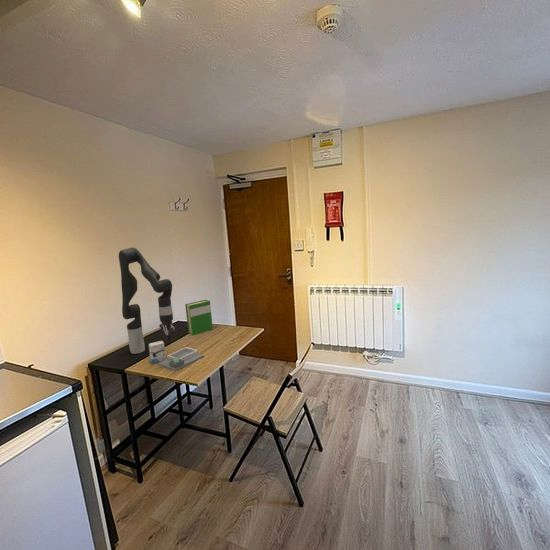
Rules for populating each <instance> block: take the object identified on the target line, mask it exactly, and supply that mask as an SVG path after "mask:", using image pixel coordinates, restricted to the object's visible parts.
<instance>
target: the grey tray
mask: <svg viewBox="0 0 550 550" xmlns="http://www.w3.org/2000/svg"><path fill="white" fill-rule="evenodd" d="M204 357H205V356H204V354H200V353H199V349H195V348H191V347H188V346H185V347H183V348H180V349H179V350H177V351H174V352H172V353H170V354H168V355H166V360H163V361H160V362H157V366H159V367H162V368H164V369H167V370H170V371H173V372H177V371H179V370H180V369H183V368H185V367H187V366H189V365H191V364H193V363H195V362H197V361H199V360H200V359H203V358H204ZM174 358H179V362H177V363H174V362H173V359H174Z"/></svg>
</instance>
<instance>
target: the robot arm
mask: <svg viewBox="0 0 550 550" xmlns="http://www.w3.org/2000/svg"><path fill="white" fill-rule="evenodd" d="M134 263H138V264H139V265H140V272H141V275H142V276H143V278H144V279H145V280H146V281H148V282H149V284H150V286H151V287H152V289H153V291H154V292H155V293H157V294H161V295H160V296H158V298H157V302H158V315H159V322H161V323H160V324H159V328H160V329H161V331H162V333H163V334H164V335H165V338H166V341H169V342H170V341H172V336H171V335H173V334H174V332H175V330H176V326H174V325H173V320H174V312H173V307H172V301H171V297H172V292H173V283H172V281H171V280H170V279H169V278H164V279H161V275H160V274H159V273H158V272H157V270H155V269H154V268H153V267H152V265H150V263H149V262H148V261H147V260H146V258H145V257H144V256H143V254H142V253H141V252H140V251H139V250H138V249H137V248H136V247H129V248H124V249H121V250H119V252H118V264H119V267H120V278H121V279H120V281H121V296H122V297H121V299H122V302H121V303H122V305H121V308H122V309H121V310H122V311H121V313H122V317H123V319H124V320H131V319H133V320H131V321H130V322H129V323H127V324H126V330H127V337H128V338H127V339H128V344H129V352H130V353H131V354H134V355H135V354H140V353H144V352H145V350H146V347H145V340H144V334H143V333H144V332H143V331H144V330H143V325H142V317H141V316H142V315H141V314H142V313H141V308H140V305H139V304H138V303H133V304H130V302H131V300H132V299H133V297H134V296H135V295H136V293H137V292H138V279H137V278H136V276H135V275H134V274H133V273H132V272H131V271H130V264H134ZM160 279H161V280H160Z"/></svg>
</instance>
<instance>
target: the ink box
mask: <svg viewBox="0 0 550 550" xmlns="http://www.w3.org/2000/svg"><path fill="white" fill-rule="evenodd" d="M148 351H149V359H150V360H149V361H150V362H151V363H152V364H156V363H157V364H158V363H159V362H162V361H164V360H166V359H167V355H166V349H165V342H164V341H163V340H158V341H155V342H151V343H148Z"/></svg>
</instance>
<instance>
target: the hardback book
mask: <svg viewBox="0 0 550 550" xmlns="http://www.w3.org/2000/svg"><path fill="white" fill-rule="evenodd" d="M184 307H185V314H186V324H187V331H188V332H187V333H188V334H191V336H196V335H200V334H203V333H206V331H207V332H210V331H213V330H214V327H213V318H212V306H211V301H210V300H207V299H202V300H198V301H193V302H189V303H185V305H184ZM212 329H213V330H212Z"/></svg>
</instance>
